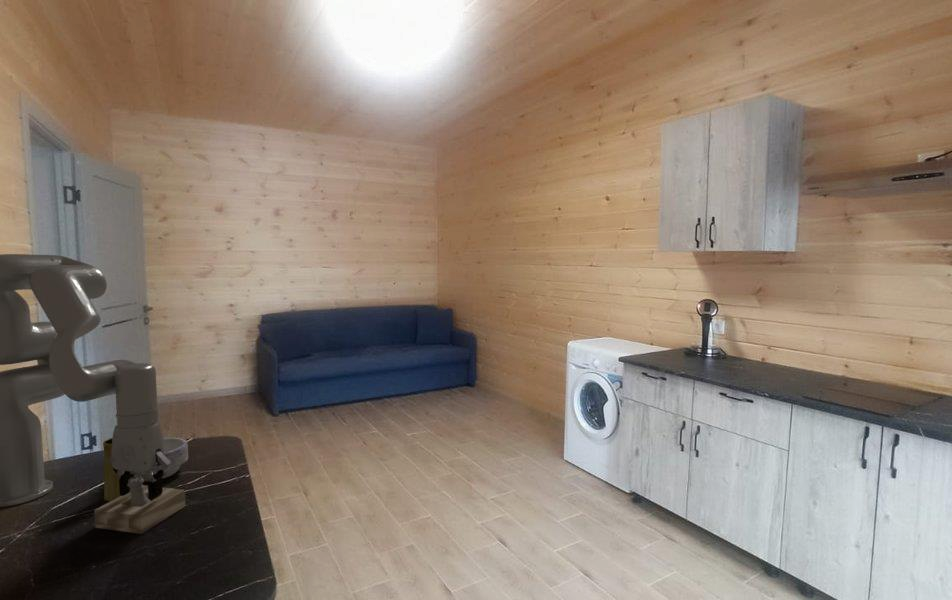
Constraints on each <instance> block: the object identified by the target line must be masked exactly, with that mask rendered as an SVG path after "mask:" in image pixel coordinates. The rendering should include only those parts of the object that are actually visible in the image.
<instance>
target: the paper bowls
mask: <svg viewBox="0 0 952 600" xmlns="http://www.w3.org/2000/svg"><path fill="white" fill-rule="evenodd" d="M163 443H164V455H165V456H166V457H167V459H168V460H169V461H170V462H171V463H172V466H171V467H170V469H169V470H168V472H167V473H166V474H165V476H164V477H163V478H162V480H163V479H166V478H170V477H171V476H173V475H175V474H176V473H177V472H178V471H179V469H180V467H181V465H183V464H185V463H186V462H187V461H188V459H189V445H188V441H187V440H186V439H185V438H180V437H164V438H163ZM160 466H161V465H160ZM153 472H154V475H155V474H156V473H157V472H156V470H155V469H153ZM132 473H133V475H134V479H135V477H136V476H137V478H139V477H138V476H141V477H142V479H144V482H145V483H146V482H147V483H148V482H150V479H149V477H148V475H147V473H139V472H132ZM144 482H143V483H144Z"/></svg>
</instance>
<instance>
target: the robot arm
mask: <svg viewBox="0 0 952 600" xmlns="http://www.w3.org/2000/svg"><path fill="white" fill-rule="evenodd" d="M107 286H108V284H107V280H106V277H105V275H104V274H103V272H102V271H100V269H98V268H97V267H96V266H93V265H91V264H88V263H86V262H83V261H79V260H76V259H73V258H70V257H67V256H63V255H57V254H29V253H28V254H24V253H19V254H18V253H4V254H3V253H2V254H0V366H4V365H15V364H22V363H27V362H33V361H36V362H37V364H33V365H30V366H22V367H18V368H17V367H16V368H12V369H7V370H2V371H1V370H0V508H4V507H5V508H6V507H10V506H16V505H21V504H24V503H28V502H31V501H33V500H36V499H39V498H40V497H43V496H45V495H47V494H48V493H50V492H51V491H52V490H53V488H54V482H53V481H52V480H49V479H45V468H44V467H45V465H44V464H45V463H44V451H43V450H44V449H43V436H42V435H43V433H42V432H43V431H42V422H41V420H40V418H39V417H38V415H37V414H35V413H34V412H33V411H32V410H31V409H30V407H29V406H32V405H34V404H39V403H42V402H43V403H44V402H47V401H50V400H51V401H52V400H54V399H57V398H60V397H63V396H66V397H67V398H69V400H72V401H74V402H76V403H77V402H78V403H81V402H83V403H84V402H88V401H94V400H97V399H100V398H104V397H108V396H111V395H115V406H116V409H115V410H116V414H115V417H116V425H115V426H114V428H113V433H112V437H111V438H112V456H111V457H110V458H109V459H108V462H109V463H110V464H111V466H112V467H113V470H114V471H115V472H116V477H117V478H118V479H119V490H120V496H124V495H126V494H128V493H130V487H128V486H127V484H128V480H130V478H133V479H134V475H133V473H131V472H139V473H147V475H148V477H149V479H150V481H148V482H147V486H148V498H149V499H151V500H152V499H154V498H155V497H157V496H159V495H161V494H162V492H163V491H162V487H163V479H162V478H163V477H164V476H165V474H166V473H167V472H168V470H169V469H170V467H171V466H172V463H171V462H170V461H169V460H168V459H167V457H166V456H165V455H164V443H163V432H162V428H161V424H160V422H159V415H158V394H157V392H158V391H157V390H158V389H157V370H156V367H155V366H154V365H153V364H151V363H148V362H147V363H144V362H143V363H141V362H140V363H139V362H138V363H137V362H134V361H131V360H127V359H115V360H111V361H106V362H105V361H104V362H100V363H95V364H89V365H84V366H83V365H82V364H81V362H80V361H79V358H78V357H77V354H76V353H75V342H76V340H77V339H80V338H81V337H83V336H85V335H87V334H88V333H90V332H92V331H93V330H95V329H96V328H97V327H98V326H99V325H100V323H101V316H100V314H99V313H98V311H97V309H96V307H95V306H94V305H93V303H92V300H95V299H99V298H101V297H102V296H103V295H104V294H105V293H106V291H107ZM23 290H24V291H25V290H27V291H28V290H29V291H30V290H31V291H32V292H33V294H34V297H35V298H36V300H37V301H38V304H39V305H40V307H41V308H42V310H43V312H44V314H45V316H46V317H47V319H48V320H49V321H39V322H37V321H36V322H32V321H31V312H30V311H31V310H30V306H29V304H28V302H27V301H26V300H25V298H24V297H23V296H22V295H21V294H20V293H18V292H17V291H23ZM160 465H161V466H160ZM153 469H155V470H156V472H157V473H156V474H155V475H154V472H153ZM130 473H131V474H130Z"/></svg>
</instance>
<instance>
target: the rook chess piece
mask: <svg viewBox="0 0 952 600" xmlns="http://www.w3.org/2000/svg"><path fill="white" fill-rule="evenodd" d="M138 477H139V478H137V476H136V477H135V479H133V478H130V480H128V484H127V486H128V487H130V492H131V503H130V506H138V507H142V506H144V505H146V504H147V503H149V502H151V501H150V500H149V499H148V498H147V497H146V495H145V492H144V486H143V485H144V484H143V483H144V479H142V477H141V476H138Z"/></svg>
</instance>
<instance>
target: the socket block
mask: <svg viewBox="0 0 952 600" xmlns="http://www.w3.org/2000/svg"><path fill="white" fill-rule="evenodd" d="M143 486H144V492H145V495H146V497H147V498H148V485H145V484H143ZM162 491H163V492H162V494H161V495H159V496H157V497H155V498H154V499H152V500H151V499H149V498H148V499H149V500H150V501H151V502H149V503H147V504H146V505H144V506H142V507H138V506H130V503H131V492H130V493H128V494H126V495H124V496H120V497H118V498H116V499H114V500H113V501H108V502H107V503H104V504H103V505H101V506H100V507H98V508H96V509H94V528H95V529H104V530H112V531H118V532H125V533H126V532H127V533H132V534H140V535H141V534H144V533H145V532H147V531H148V530H151V528H153V527H155V526H157V525H158V524H160V523H161V522H163V521H164V520H166V519H168V518H170V516H172V515H174V514H175V513H177V512H178V511H180V510H182V509H183V508H185V507H186V490H185V489H179V488H173V487H172V488H170V487H163V486H162Z"/></svg>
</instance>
